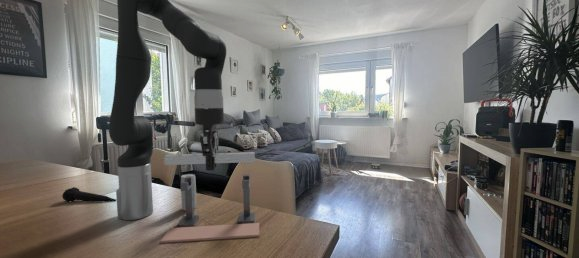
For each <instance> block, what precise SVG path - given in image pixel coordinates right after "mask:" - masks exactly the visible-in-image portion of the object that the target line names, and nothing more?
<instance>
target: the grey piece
mask: <svg viewBox="0 0 579 258" xmlns="http://www.w3.org/2000/svg"><path fill="white" fill-rule="evenodd" d="M187 176H193V193H194V210H195V209H196V208H197V185H196V183H197V182H196V175H195V173H194V174H193V173H187V174H186V173H185V174H182V175H181V176H180V183H181V182H185V180H184V178H185V177H187ZM180 192H181V194H180V195H181V196H180V197H181V208H182V210H183V211H184V212H186V205H185V191H181V190H180Z"/></svg>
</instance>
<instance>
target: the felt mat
mask: <svg viewBox="0 0 579 258" xmlns="http://www.w3.org/2000/svg"><path fill="white" fill-rule="evenodd" d="M244 238H245V239H246V238H260V222H255V223H249V224H238V223H236V224H235V223H234V224H232V223H231V224H218V225H216V224H215V225H201V226H200V225H199V226H195V227H180V228H177V227H170V228H169V229H167V232H165V234H164V235H163V237H161V239H160V244H164V243H165V244H167V243H168V244H169V243H180V242H181V243H182V242H183V243H184V242H196V241H213V240H226V239H227V240H228V239H244Z"/></svg>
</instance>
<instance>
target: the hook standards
mask: <svg viewBox="0 0 579 258" xmlns="http://www.w3.org/2000/svg"><path fill="white" fill-rule="evenodd" d="M250 175H251V174H250V173H248V174H242V181H241V183H242V184H241V186H242V187H241V189H242V191H243V193H242V194H243V197H242V198H243V212H240V213H239V215H238V219H237V224H249V223H256V222H255V220H256V212H255V211H253V212H251V180H250V179H251V178H250ZM184 180H185V182H181V181H180V192H181V191H185V205H186V211H185V215H183V216H182V217H181V218H180V219H179V221H178V222H177V224H176V228H180V227H196V225H197V223H198V221H199V219H200V214H198V215H195V209H194V193H193V176H187V177H185V178H184Z"/></svg>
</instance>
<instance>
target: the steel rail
mask: <svg viewBox="0 0 579 258" xmlns="http://www.w3.org/2000/svg"><path fill="white" fill-rule="evenodd" d="M255 153H256V152H255V151H246V152H241V151H240V152H217V153H214V154H215V156H214V162H215V163H217V164H231V163H233V164H235V163H236V164H237V163H239V164H241V163H255V162H256V154H255ZM163 158H164V166H177V165H178V166H179V165H180V166H181V165H204V164H205V165H206V157H205V156H203V153H183V154H182V153H181V154H174V153H173V154H166V155H164V156H163Z"/></svg>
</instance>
